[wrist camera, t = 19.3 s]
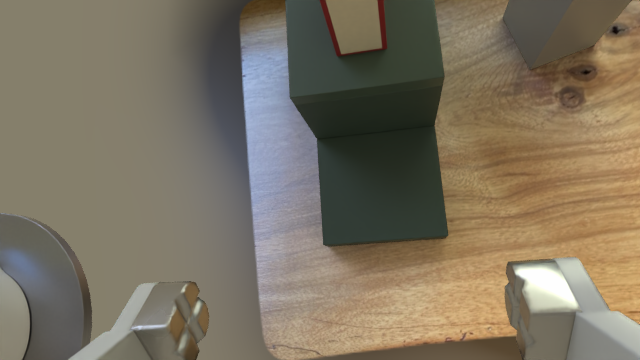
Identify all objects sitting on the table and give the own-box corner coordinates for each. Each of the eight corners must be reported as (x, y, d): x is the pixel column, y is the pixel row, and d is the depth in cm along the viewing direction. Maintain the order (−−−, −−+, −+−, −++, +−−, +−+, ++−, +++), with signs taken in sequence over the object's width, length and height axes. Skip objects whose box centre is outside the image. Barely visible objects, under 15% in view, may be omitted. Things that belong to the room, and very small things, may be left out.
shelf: (328, 246, 45) (296, 236, 32) (315, 34, 50) (282, -52, 37) (445, 238, 43) (464, 223, 29) (418, 17, 48) (423, -80, 35)
